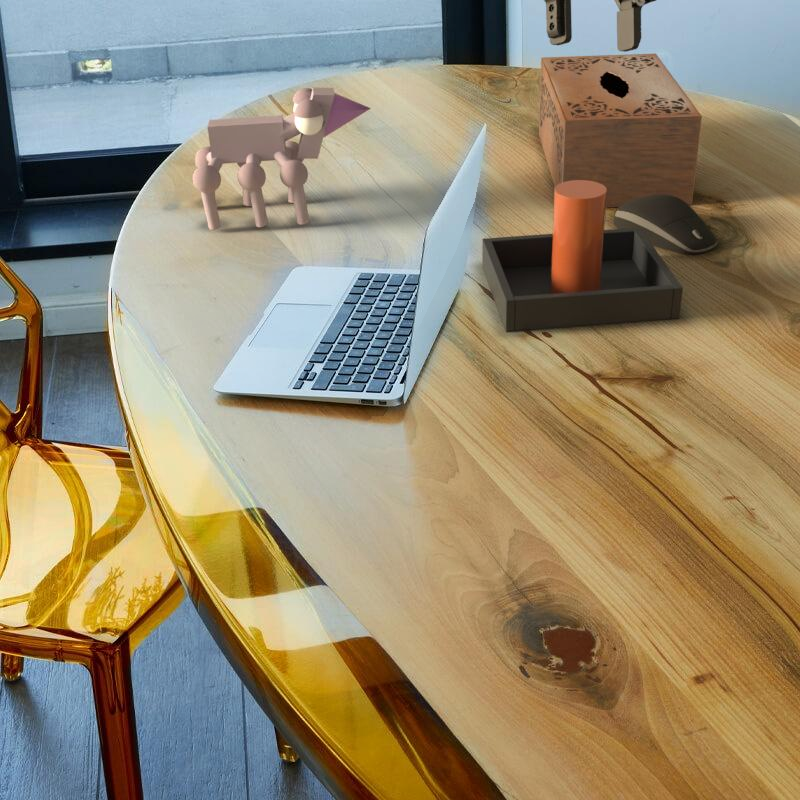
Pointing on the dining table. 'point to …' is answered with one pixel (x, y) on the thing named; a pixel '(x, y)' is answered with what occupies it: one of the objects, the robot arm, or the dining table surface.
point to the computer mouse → (667, 224)
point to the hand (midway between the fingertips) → (595, 47)
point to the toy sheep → (271, 150)
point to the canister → (578, 236)
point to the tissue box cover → (618, 126)
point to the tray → (613, 304)
